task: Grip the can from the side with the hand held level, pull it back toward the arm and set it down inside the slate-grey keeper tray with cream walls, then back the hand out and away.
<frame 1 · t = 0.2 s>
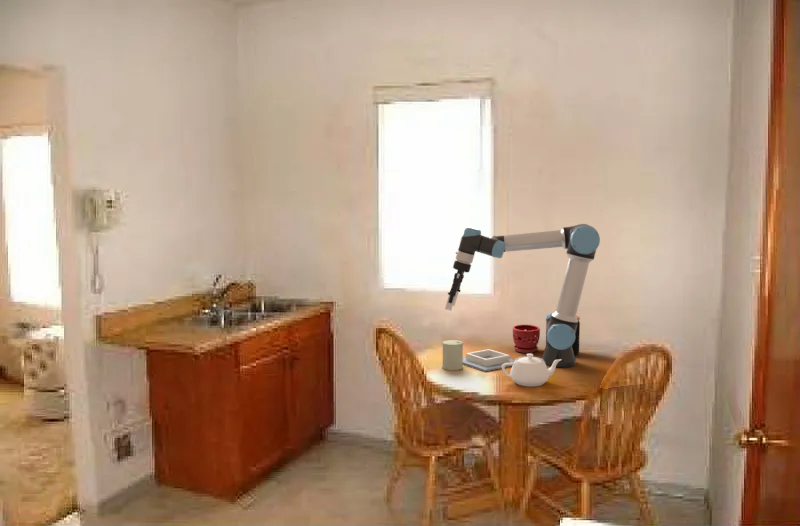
hand: (449, 307, 293), 27 cm above the table, tool tilted 15°, fingers open, 13 cm apart
keeper tray: (487, 362, 301), on the table
coffee jar: (567, 353, 318), on the table
can: (452, 367, 294), on the table
plant pot: (525, 351, 323), on the table
teapot: (531, 383, 270), on the table
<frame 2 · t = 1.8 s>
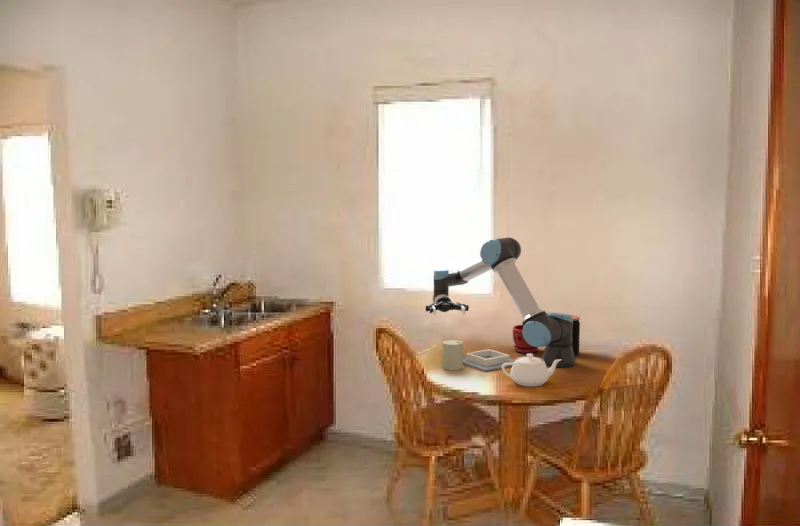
hand: (449, 311, 301), 24 cm above the table, tool horizontal, fingers open, 13 cm apart
nothing on the table moved.
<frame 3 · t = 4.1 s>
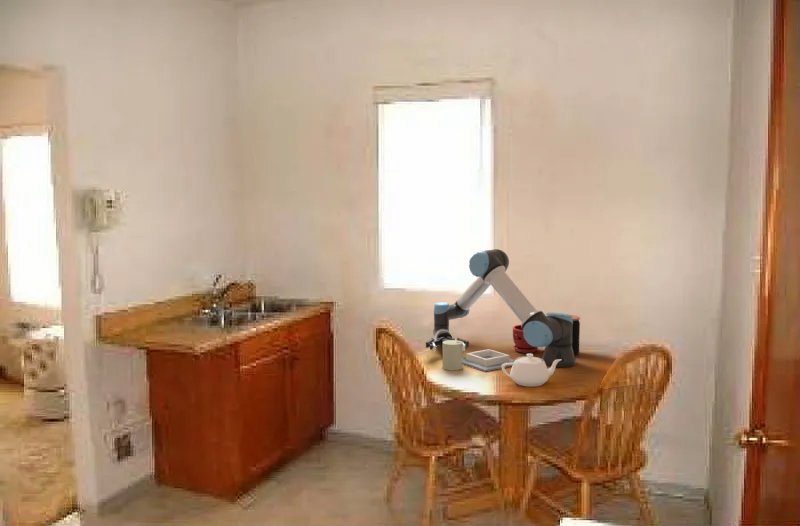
hand: (449, 348, 300), 7 cm above the table, tool horizontal, fingers open, 13 cm apart
nothing on the table moved.
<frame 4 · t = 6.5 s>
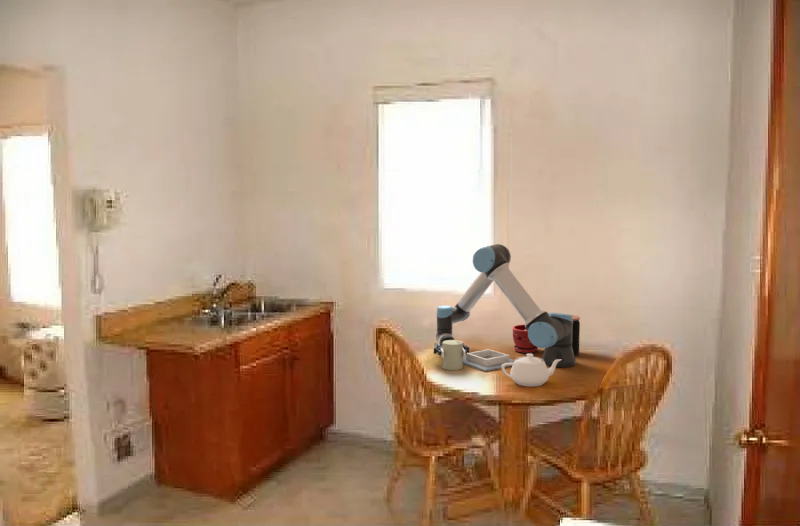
hand: (454, 354, 289), 7 cm above the table, tool horizontal, fingers closed on can, 9 cm apart
can: (452, 367, 294), on the table, touching gripper
everything else where it was.
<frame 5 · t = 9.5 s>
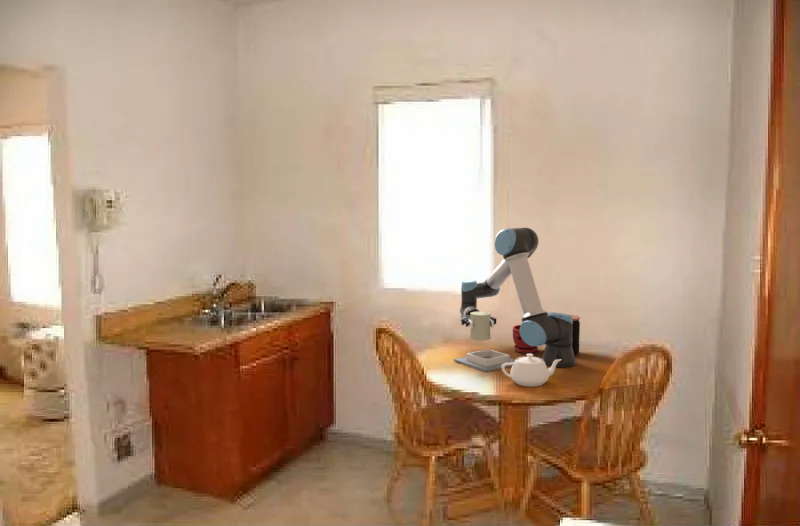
hand: (482, 325, 293), 19 cm above the table, tool horizontal, fingers closed on can, 9 cm apart
can: (480, 338, 299), point 12 cm above the table, touching gripper
everything else where it was.
when the fingers open (9 cm above the table, at t = 12.7 s): can drops 1 cm, resting on keeper tray.
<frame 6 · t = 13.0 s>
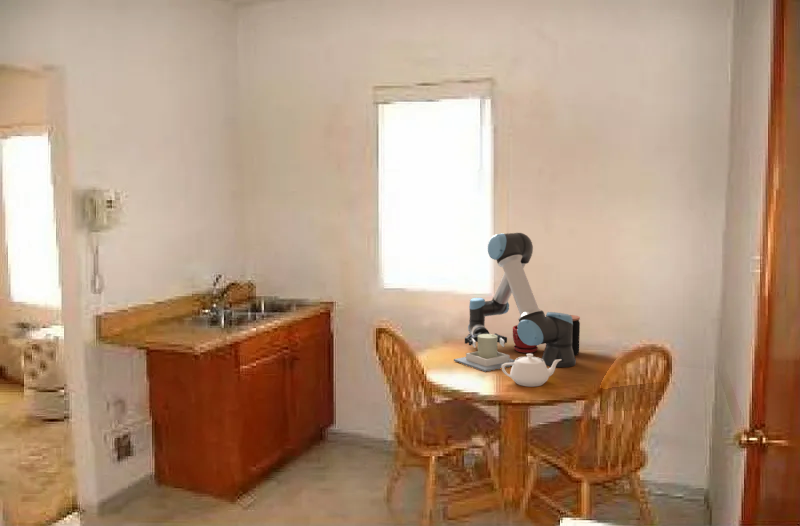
hand: (489, 344, 297), 9 cm above the table, tool horizontal, fingers open, 12 cm apart
can: (487, 361, 301), point 1 cm above the table, touching keeper tray
everything else where it was.
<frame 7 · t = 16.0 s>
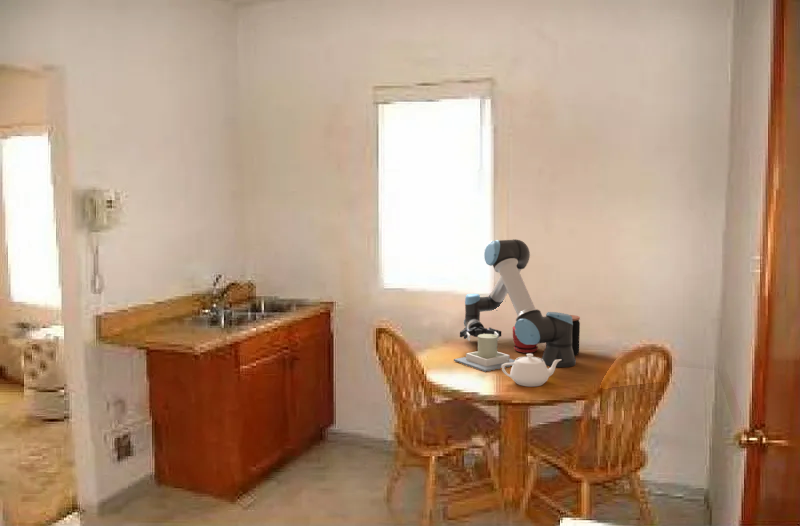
hand: (483, 337, 310), 10 cm above the table, tool horizontal, fingers open, 13 cm apart
nothing on the table moved.
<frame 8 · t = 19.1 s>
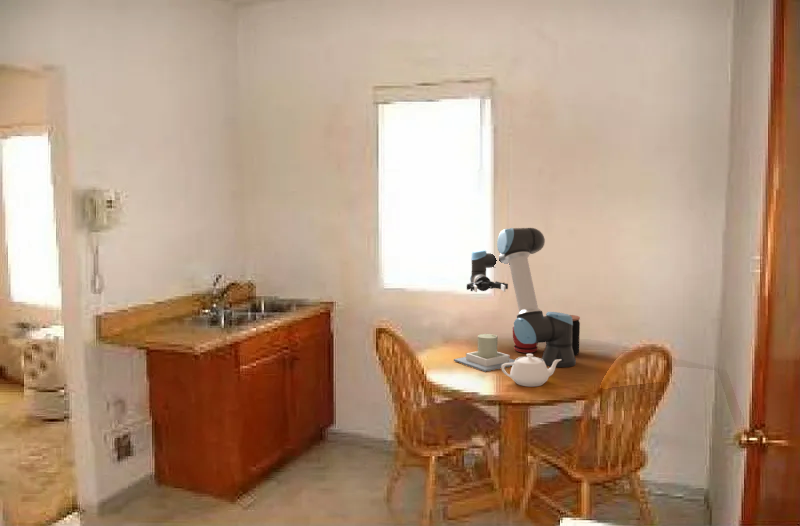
hand: (490, 289, 312), 32 cm above the table, tool horizontal, fingers open, 13 cm apart
nothing on the table moved.
at the end: can 0.1 cm off-centre on the keeper tray, point 0.8 cm above the keeper tray's base; can tilted 0°; the gripper is holding nothing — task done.
